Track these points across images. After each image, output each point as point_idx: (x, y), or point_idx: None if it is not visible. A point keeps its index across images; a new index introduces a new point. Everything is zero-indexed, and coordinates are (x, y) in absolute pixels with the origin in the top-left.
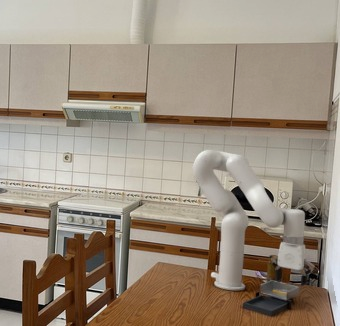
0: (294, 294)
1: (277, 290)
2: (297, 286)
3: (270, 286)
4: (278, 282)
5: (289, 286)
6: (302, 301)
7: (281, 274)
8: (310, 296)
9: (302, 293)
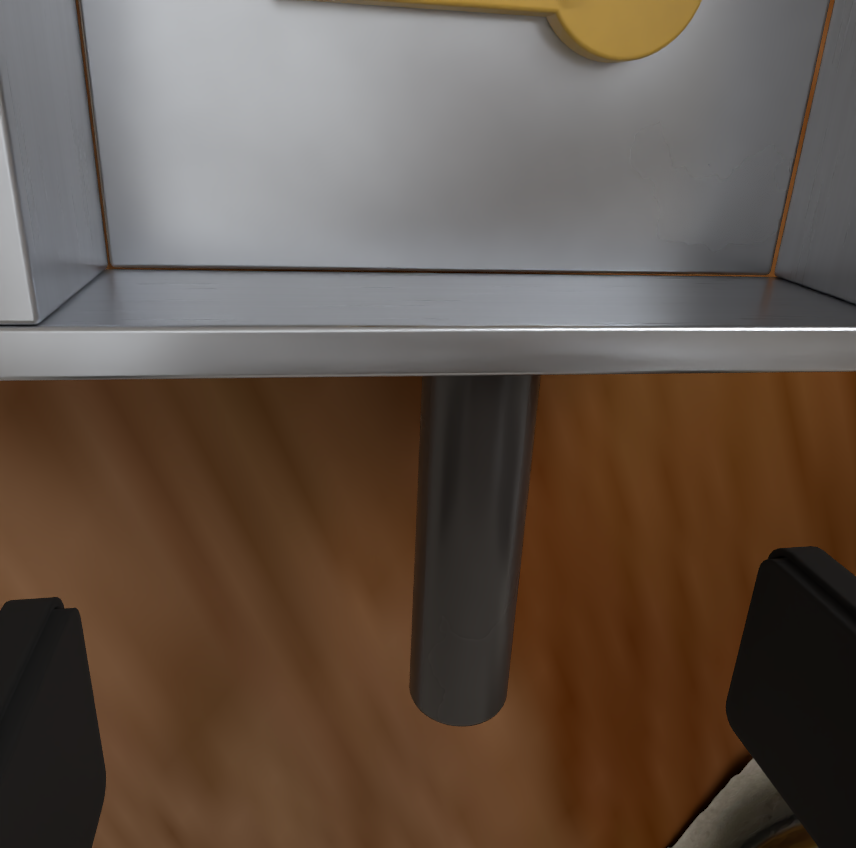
0: None
1: (588, 17)
2: (62, 364)
3: (828, 181)
4: (718, 324)
5: (342, 312)
6: (120, 427)
7: (811, 794)
8: (185, 786)
9: (337, 809)
